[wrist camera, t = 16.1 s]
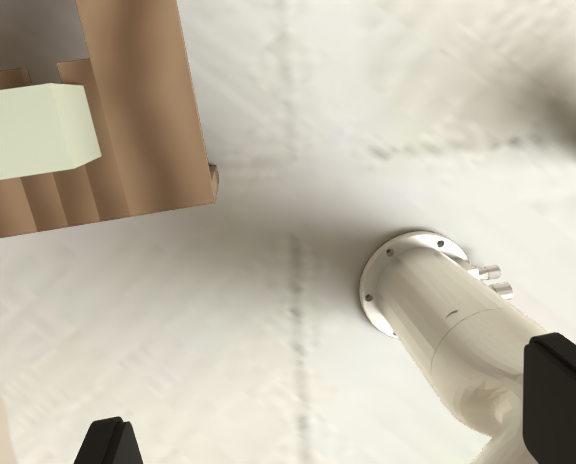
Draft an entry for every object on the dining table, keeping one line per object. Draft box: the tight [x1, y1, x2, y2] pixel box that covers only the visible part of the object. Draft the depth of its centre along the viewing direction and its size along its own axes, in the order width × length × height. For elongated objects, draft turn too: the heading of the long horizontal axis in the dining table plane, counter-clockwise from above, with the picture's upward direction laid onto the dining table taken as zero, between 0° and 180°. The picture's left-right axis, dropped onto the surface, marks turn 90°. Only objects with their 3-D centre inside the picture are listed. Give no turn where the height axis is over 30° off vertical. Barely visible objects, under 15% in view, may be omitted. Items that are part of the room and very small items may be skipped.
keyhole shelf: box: [0, 0, 219, 238], centre depth 36 cm, size 20×22×10 cm
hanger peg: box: [0, 83, 101, 180], centre depth 33 cm, size 5×5×13 cm
